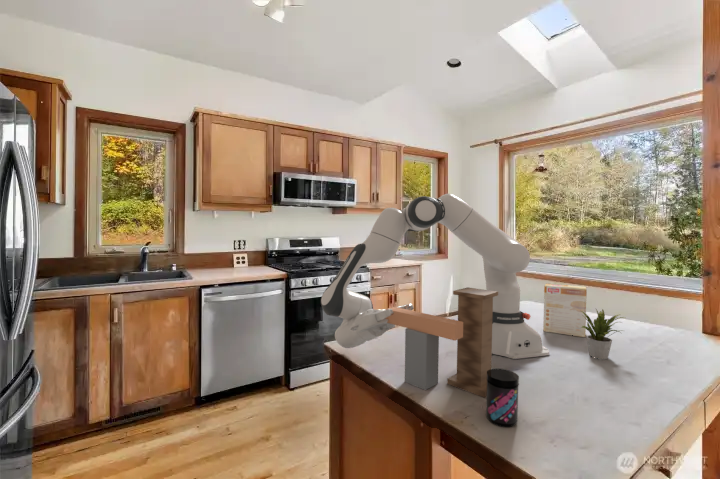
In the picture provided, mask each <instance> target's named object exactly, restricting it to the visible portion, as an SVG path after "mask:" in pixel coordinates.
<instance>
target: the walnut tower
mask: <svg viewBox="0 0 720 479" xmlns="http://www.w3.org/2000/svg"><path fill="white" fill-rule="evenodd" d="M452 295H454V296H457V297H458V298H457V299H458V300H457V321H461V322H463V337H462V338H460V339H458V340H456V342H457V343H456V345H457V346H456V351H457V352H456V373H455V374H453V375H451V376H449V377H448V378H446V379H447V385H449V386H452V387H454V388H458V389H461V390H463V391H466V392H467V393H468V392H469V393H471V394H474V395H476V396H479V397H482V398H486V393H487V371H488V370H490V369H492V355H493V354H492V316H493V297H495V296H498V292H497V291H490V290H486V289H481V288H474V287H463V288H459V289H455V290H453V291H452Z"/></svg>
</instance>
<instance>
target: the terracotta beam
mask: <svg viewBox="0 0 720 479" xmlns="http://www.w3.org/2000/svg"><path fill="white" fill-rule="evenodd" d="M398 307H399V306H392V307H388V308H385V309H386V310H387V309H392V310H393V313H394V314H393V315H391V316H389V317H387V318H386V320H387V319H388V322H387V323H390V324H394V325H395V326H398V327H402V328H405V329H406V328H409V329H413V330H417V331H420V332H424V333H428V334H432V335H435V336H439V338H443V339H446V340H451V341H455V342H456V341H457V340H458V339H460V338H462V337H463V322H461V321H458V319H457V320H456V319H452V318H447V317H444V316H439V315H434V314H429V313H424V312H420V311H415V310H407V309H402V308H398Z"/></svg>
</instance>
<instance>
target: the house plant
mask: <svg viewBox="0 0 720 479" xmlns="http://www.w3.org/2000/svg"><path fill="white" fill-rule="evenodd" d="M601 309H602V310H601V311H598V310H597V308H595V311H596V313H597V317H596V318H595V319H593V321H592V320H591V318H590V316H589V315H588V314H587V313H586V314H585V313H584V312H583V311H581V312H582V313H583V314H584V315H585V316H586V326H582V327H581V328H585V329H586V330H587V331H588V332H589V334H590V335H587V336H586V339H587V340H586V341H587V347H588V354H589V356H590V357H591V356H592V357H591V358H594V357H595V358H594V359H597V358H599V359H598V360H608V359H609V356H610V352H611V351H610V350H611V347H612V343H613V339H612V338H609V337H610V336H612V335H613V334H616V333H617V332H618V333H620V334H622V332H624V330H617V329H613V328H611V327H612V326H614V325H615V324H617V323H619V321H616V320H619V319H625V317H624V316H623V317H621V314H616V315H615V314H614V315H613V316H612V317H610V318H607V319H606V315H605V311H604V309H603V308H601ZM582 316H583V315H582ZM618 316H620V317H618ZM583 317H584V316H583ZM614 321H616V322H614ZM613 322H614V323H613ZM620 323H622V324H623V322H622V321H620ZM610 332H612V333H611V334H610ZM608 334H609V335H608ZM607 335H608V336H607ZM607 358H608V359H607Z"/></svg>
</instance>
